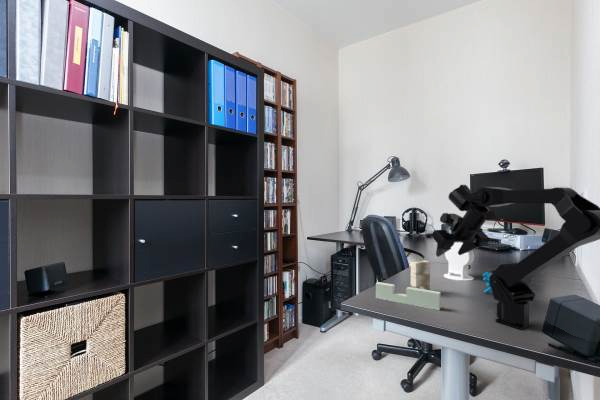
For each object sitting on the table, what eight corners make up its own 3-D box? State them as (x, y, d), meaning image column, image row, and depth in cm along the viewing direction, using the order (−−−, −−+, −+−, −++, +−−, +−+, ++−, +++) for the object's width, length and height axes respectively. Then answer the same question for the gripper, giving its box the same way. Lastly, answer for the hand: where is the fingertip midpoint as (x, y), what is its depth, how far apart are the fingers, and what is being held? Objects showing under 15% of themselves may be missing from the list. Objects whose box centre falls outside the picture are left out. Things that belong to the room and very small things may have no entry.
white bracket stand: (480, 278, 130) (480, 243, 130) (464, 282, 125) (464, 245, 125) (454, 272, 141) (454, 239, 141) (437, 276, 135) (437, 241, 135)
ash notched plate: (424, 290, 114) (424, 260, 114) (429, 292, 112) (429, 261, 112) (410, 293, 111) (410, 262, 111) (415, 294, 109) (416, 263, 109)
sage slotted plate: (440, 308, 96) (440, 292, 96) (439, 310, 94) (439, 293, 94) (377, 296, 107) (377, 282, 107) (375, 298, 106) (375, 283, 106)
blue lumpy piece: (500, 296, 102) (480, 270, 109) (486, 305, 106) (467, 279, 112) (518, 295, 107) (498, 271, 114) (504, 304, 111) (485, 280, 117)
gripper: (478, 204, 105) (455, 236, 115) (433, 204, 100) (413, 238, 109) (502, 227, 97) (475, 260, 107) (454, 229, 91) (430, 264, 101)
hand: (448, 254), depth 106 cm, fingers open, 9 cm apart
